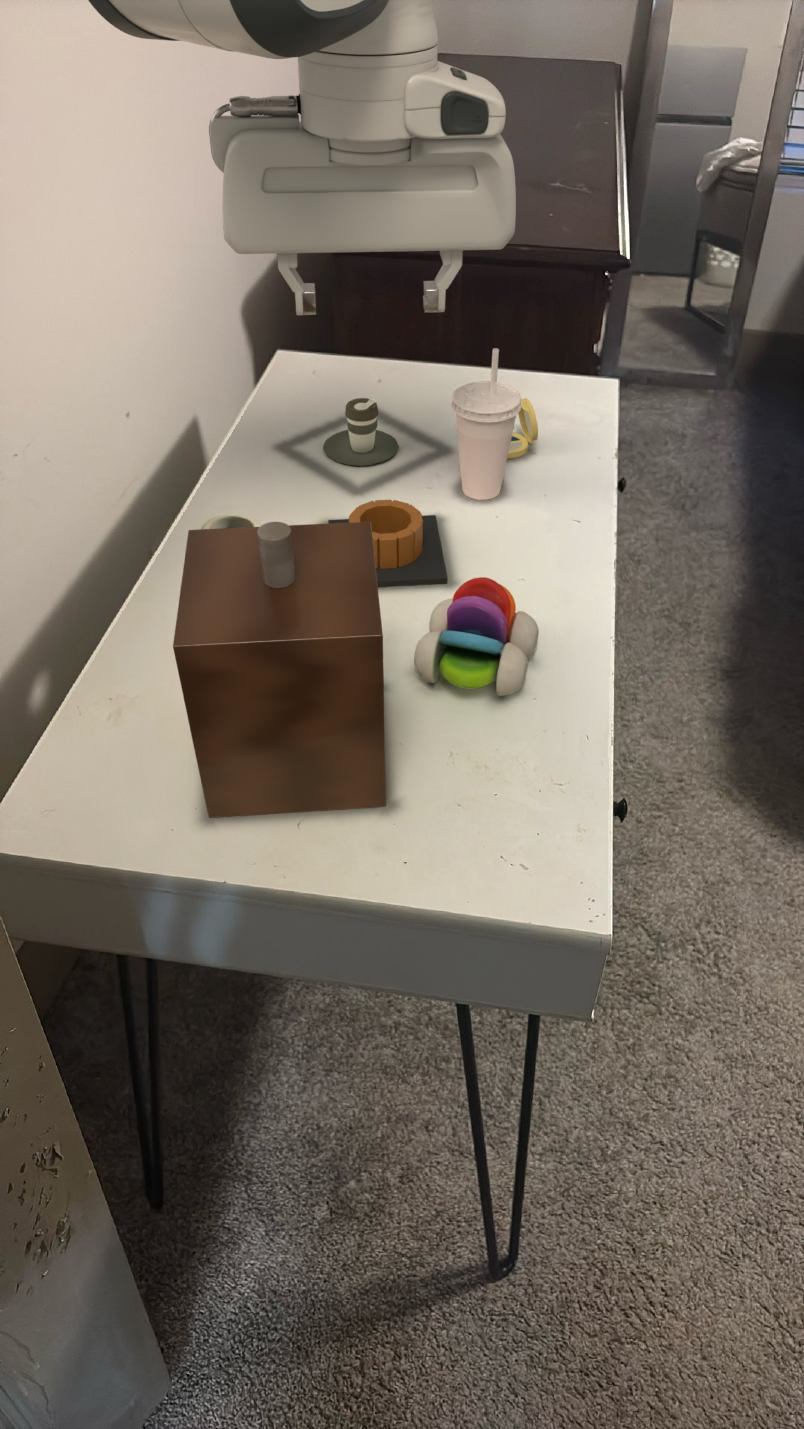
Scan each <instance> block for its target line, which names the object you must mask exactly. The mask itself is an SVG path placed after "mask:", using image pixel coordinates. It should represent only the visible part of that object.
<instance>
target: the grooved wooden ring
mask: <svg viewBox="0 0 804 1429" xmlns="http://www.w3.org/2000/svg"><path fill="white" fill-rule="evenodd" d="M422 516H423V514H422V513H421V511H420V510H419V509H417V507H415V506H414V505H413V504H411V503H410V504H409V502H405V501H400V500H398V499H393V500H392V499H375V500H370V501H367V502H365V503H362V504H359V505H358V506H356V507H355V508H354V509H353V510H352V512H350V513H349V516H348V519H349V523H351V522H371V526H372V536H373V546H374V555H375V565H376V568H378V567H379V566H380V569H389V568H397V566H398V567H402V566H404V565H407V564H409V563H412V562H413V560H414V561H415V560H416V559H417V558H418V556H419V555H420V554H421V553H422V550H423V520H422Z"/></svg>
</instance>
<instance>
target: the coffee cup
mask: <svg viewBox="0 0 804 1429" xmlns="http://www.w3.org/2000/svg"><path fill="white" fill-rule="evenodd" d="M344 410H345V411H344V415H345V417H346V425H347V429H345V430H341V431H339V432H336V433H334V434H332V435H330V436H329V437H328V438H326V440H325V441H324V443H323V446H322V448H323V453H324V454H325V455H326V456H327V457H328V458H329V459H330V460H332V461H334V462H337V463H339V464H342V465H347V466H355V467H365V466H366V467H367V466H375V465H379V464H382V463H386V462H387V461H390V460H391V459H392V458H394V457H395V456H396V454H397V452H398V450H399V443H398V441H397V439H396V438H395V437H394V436H393V435H391V434H389V433H387V432H386V431H382V430H379V429H378V416H379V408H378V402H377V401H374V399H373V398H368V397H358V398H354V399H350V400H349V401H348V402H347V403H346V404H345V409H344Z"/></svg>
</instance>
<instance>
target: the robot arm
mask: <svg viewBox="0 0 804 1429" xmlns="http://www.w3.org/2000/svg"><path fill="white" fill-rule="evenodd" d="M87 1H88V2H89V3H90V5H91V6H92V7H93V9H94V10H95V11H96V12H97V13H98V14H99V15H100V16H101V17H102V18H103V19H104V20H105V21H106V22H108V23H109V24H110V25H112V27H114V28H116V29H117V30H119V31H120V32H122V33H124V34H127V35H129V36H132V37H135V38H139V39H143V40H156V41H157V40H158V41H171V42H185V43H190V44H194V45H199V46H204V47H207V48H213V49H217V50H220V51H227V52H234V53H235V52H236V53H240V54H245V55H250V56H256V57H260V58H265V59H270V60H271V59H272V60H283V59H284V60H285V59H286V60H287V59H292V58H297V73H298V74H297V75H298V76H297V77H298V91H299V92H298V95H271V96H266V97H251V96H246V95H239V96H233V97H230V98H229V101H228V102H229V103H225V104H223V105H220V106H219V107H218V108H217V109H216V110H215V111H214V112H213V113H212V116H211V117H210V120H209V125H208V136H209V146H210V154H211V158H212V161H213V162H214V164H215V166H216V167H217V168H218V170H219V171H220V172H221V173H223V180H222V230H223V238H224V241H225V243H226V244H227V245H228V246H229V247H230V248H231V250H233V252H235V253H236V254H238V255H265V254H266V255H269V254H275V255H276V260H277V270H278V271H279V273H280V275H281V276H282V277H283V279H284V280H285V282H286V284H287V285H288V287H289V288H290V290H291V291H292V292H293V293H294V298H295V313H296V314H295V315H296V316H312V315H313V316H314V315H315V316H316V315H317V301H316V284H315V282H304V280H303V279H302V277H301V275H300V274H299V272H298V271H297V268H298V254H324V253H325V254H326V253H327V254H329V253H331V254H332V253H371V252H372V253H380V252H381V253H383V252H384V253H386V252H390V253H391V252H439V255H440V259H441V262H442V266H441V267H440V269H439V271H438V272H437V274H436V276H435V278H434V280H423V286H422V287H423V288H422V291H423V295H422V306H423V309H424V313H445V310H446V296H447V295H446V293H447V290H449V287H450V286H451V285H452V283H453V281H454V279H455V278H456V276H457V275H458V274H459V272H460V270H461V268H462V267H463V255H464V253H463V252H464V251H490V250H491V251H495V250H499V251H500V250H503V249H504V248H505V247H506V246H507V245H508V244H509V242H510V241H511V240H512V239H513V238H514V235H515V231H516V222H517V221H516V219H517V189H516V173H515V165H514V160H513V156H512V153H511V151H510V148H509V147H508V145H507V143H506V141H505V139H504V138H503V136H502V135H501V134H502V132H503V130H504V128H505V125H506V119H507V118H506V115H507V109H506V102H505V100H504V97H503V95H502V93H501V92H500V90H499V89H498V88H497V87H496V86H495V84H493V83H492V82H491V81H489V80H488V79H487V78H485V77H482V76H480V75H478V74H475V73H472V72H469V71H466V70H463V69H461V68H458V67H455V66H452V65H450V64H448V63H445V62H441V61H439V60H438V55H439V54H438V51H439V50H438V48H439V44H438V43H439V36H438V27H437V23H436V18H435V13H434V3H433V2H434V1H433V0H87ZM227 112H229V113H230V115H224V114H225V113H227Z"/></svg>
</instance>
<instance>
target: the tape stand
mask: <svg viewBox="0 0 804 1429" xmlns="http://www.w3.org/2000/svg"><path fill="white" fill-rule="evenodd" d="M184 553H185V554H184V559H183V560H184V562H183V569H182V576H181V583H180V590H179V596H178V605H177V613H176V622H175V629H174V634H173V635H174V636H173V641H172V642H173V644H172V649H173V654H174V659H175V664H176V668H177V673H178V677H179V683H180V686H181V692H182V697H183V701H184V706H185V711H186V716H187V721H188V725H189V726H188V727H189V730H190V735H191V740H192V745H193V750H194V754H195V759H196V764H197V768H198V774H199V780H200V783H201V788H202V793H203V798H204V802H205V807H206V812H207V817H208V818H224V817H225V818H226V817H239V816H240V817H241V816H242V817H243V816H255V815H256V816H257V815H271V814H288V813H289V814H290V813H303V812H305V813H307V812H321V811H336V810H337V811H338V810H353V809H355V810H356V809H369V808H385V807H387V776H386V774H387V773H386V772H387V771H386V770H387V769H386V727H385V726H386V725H385V722H386V721H385V717H386V716H385V676H384V675H385V674H384V673H385V672H384V669H385V668H384V634H383V633H384V632H383V624H382V613H381V604H380V596H379V595H380V594H379V587H378V584H377V574H376V565H375V555H374V546H373V536H372V526H371V522H351V523H329V524H328V523H310V524H309V523H307V524H287V523H285V522H282V521H269V522H266V523H263V524H262V525H260V526H245V527H244V526H242V527H223V528H221V527H220V528H202V529H189V530H188V531H187V539H186V546H185V552H184Z"/></svg>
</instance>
